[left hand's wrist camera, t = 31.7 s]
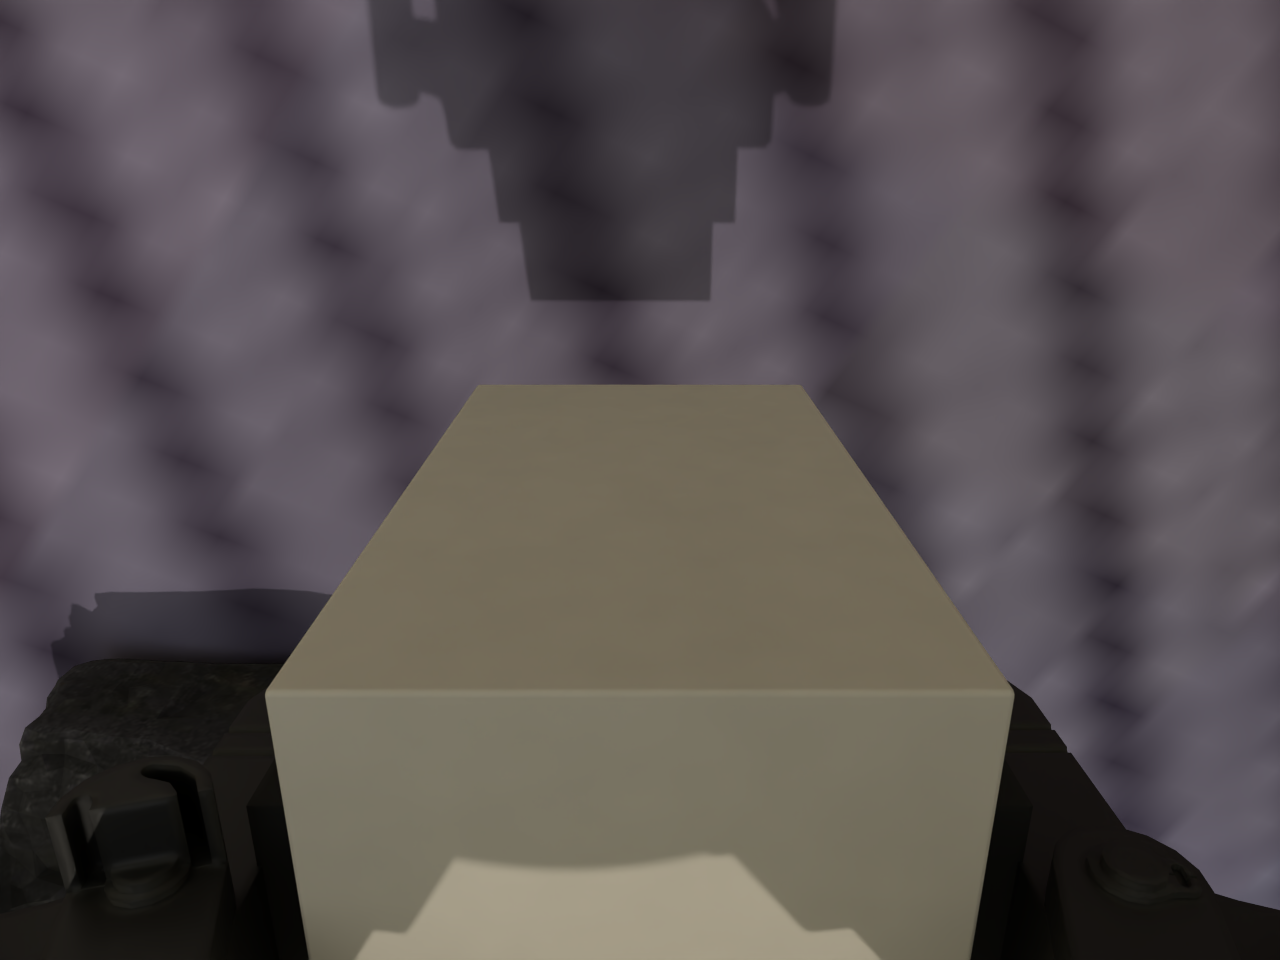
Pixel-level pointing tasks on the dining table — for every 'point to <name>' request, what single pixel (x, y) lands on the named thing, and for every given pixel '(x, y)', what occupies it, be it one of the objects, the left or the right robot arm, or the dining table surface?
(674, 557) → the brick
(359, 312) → the dining table surface
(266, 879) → the left robot arm
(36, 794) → the rock
